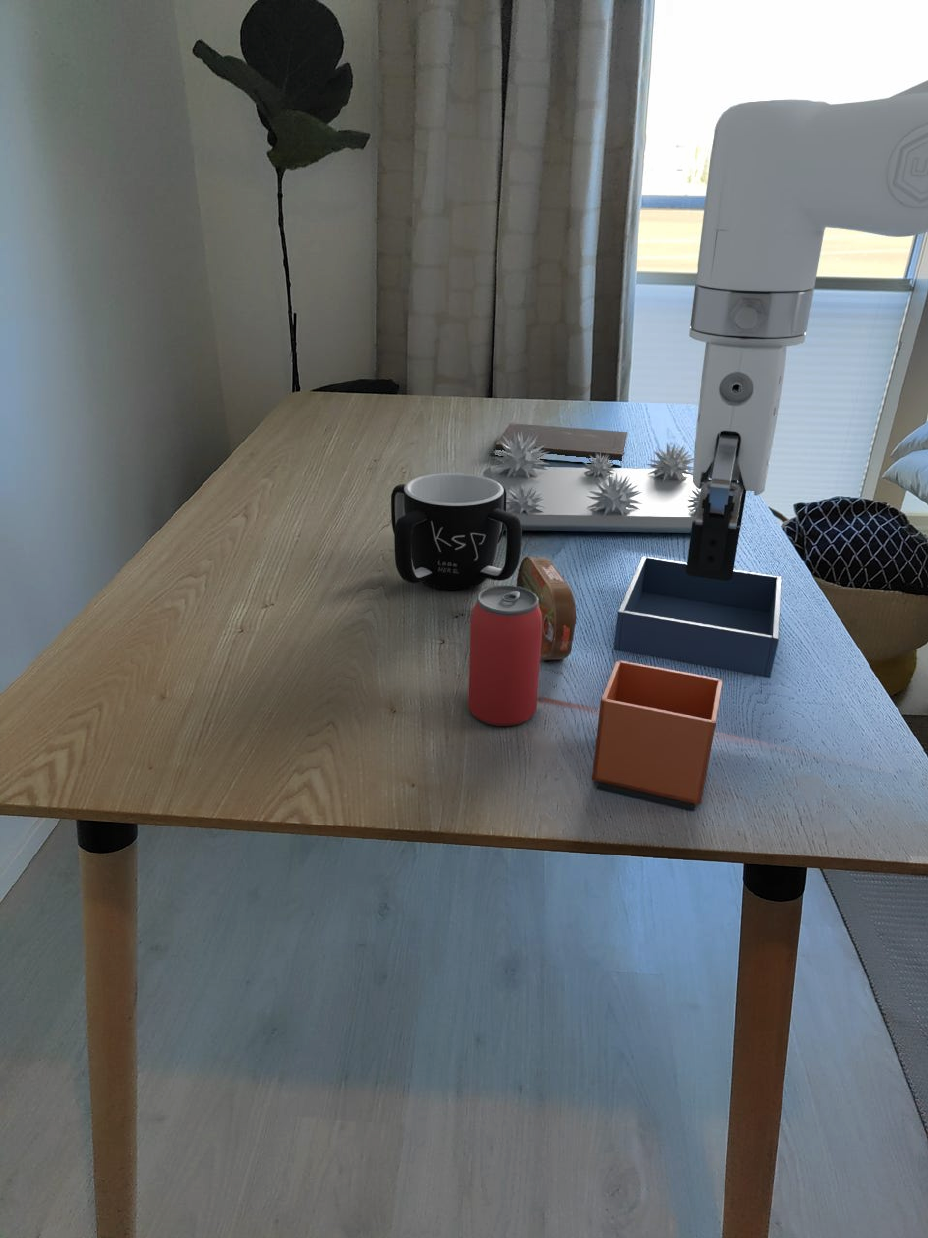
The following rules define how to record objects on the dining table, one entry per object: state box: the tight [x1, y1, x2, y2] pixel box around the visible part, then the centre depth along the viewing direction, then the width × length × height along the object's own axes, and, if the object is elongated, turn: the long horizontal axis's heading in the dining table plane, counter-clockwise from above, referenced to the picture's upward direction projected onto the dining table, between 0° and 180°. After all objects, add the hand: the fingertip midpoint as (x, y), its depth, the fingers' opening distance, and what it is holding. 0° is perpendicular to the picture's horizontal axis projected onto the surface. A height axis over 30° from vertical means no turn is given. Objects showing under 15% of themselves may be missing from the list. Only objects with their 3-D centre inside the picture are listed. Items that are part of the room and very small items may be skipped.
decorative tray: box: [482, 430, 701, 534], centre depth 131 cm, size 35×26×10 cm
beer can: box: [467, 584, 543, 727], centre depth 79 cm, size 7×7×12 cm
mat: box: [596, 782, 696, 812], centre depth 74 cm, size 8×8×1 cm
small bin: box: [591, 659, 724, 806], centre depth 72 cm, size 9×7×8 cm
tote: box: [613, 555, 783, 679], centre depth 96 cm, size 16×16×5 cm
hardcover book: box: [494, 422, 628, 462], centre depth 161 cm, size 16×23×2 cm
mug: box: [390, 472, 523, 591], centre depth 106 cm, size 16×16×12 cm
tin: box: [516, 556, 577, 662], centre depth 93 cm, size 15×3×8 cm, turn 10°
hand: (714, 551), depth 65 cm, fingers open, 9 cm apart
